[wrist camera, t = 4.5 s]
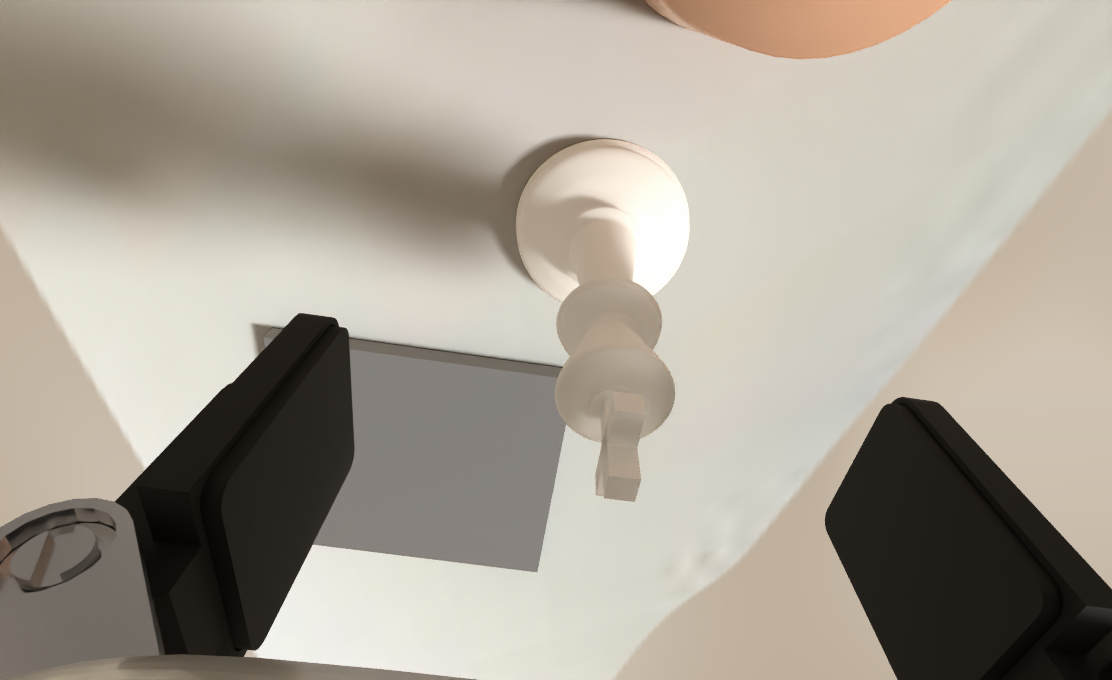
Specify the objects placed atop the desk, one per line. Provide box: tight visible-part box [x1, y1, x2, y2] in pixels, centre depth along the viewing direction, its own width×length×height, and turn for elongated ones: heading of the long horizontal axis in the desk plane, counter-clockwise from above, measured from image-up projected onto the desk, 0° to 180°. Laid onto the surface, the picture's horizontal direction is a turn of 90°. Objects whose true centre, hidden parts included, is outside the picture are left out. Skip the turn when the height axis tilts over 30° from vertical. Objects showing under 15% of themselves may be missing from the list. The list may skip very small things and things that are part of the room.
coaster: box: [263, 328, 566, 572], centre depth 21 cm, size 10×10×1 cm
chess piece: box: [516, 139, 689, 502], centre depth 12 cm, size 5×5×10 cm
